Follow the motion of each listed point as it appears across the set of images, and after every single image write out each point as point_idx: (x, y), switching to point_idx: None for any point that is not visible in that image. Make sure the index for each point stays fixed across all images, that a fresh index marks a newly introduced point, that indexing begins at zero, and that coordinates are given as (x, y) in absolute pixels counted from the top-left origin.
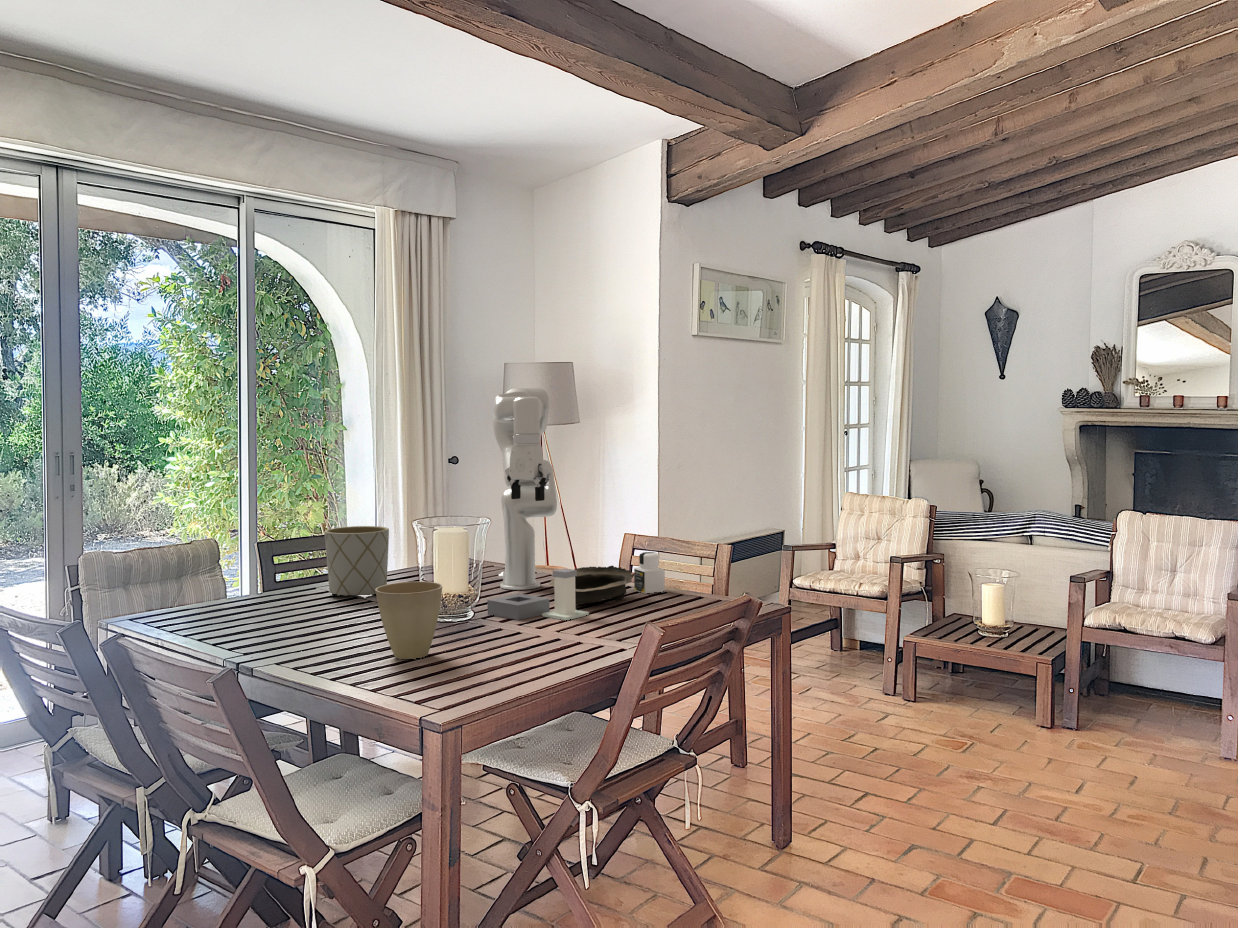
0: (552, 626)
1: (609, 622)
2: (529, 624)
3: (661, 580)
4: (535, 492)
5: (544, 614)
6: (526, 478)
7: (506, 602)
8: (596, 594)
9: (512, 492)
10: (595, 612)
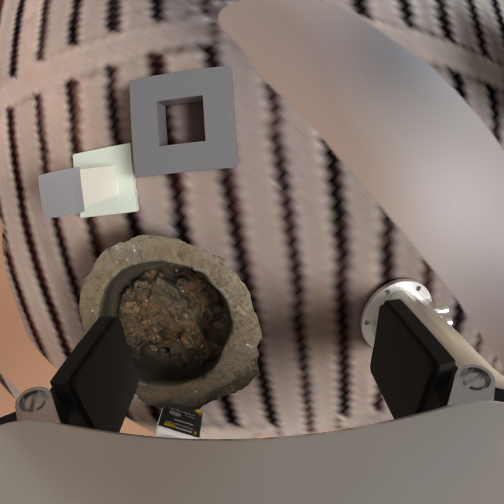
0: (62, 108)
1: (27, 201)
2: (99, 84)
3: (155, 430)
4: (85, 351)
5: (124, 144)
6: (84, 435)
7: (172, 78)
8: (112, 283)
9: (408, 326)
10: (91, 241)
